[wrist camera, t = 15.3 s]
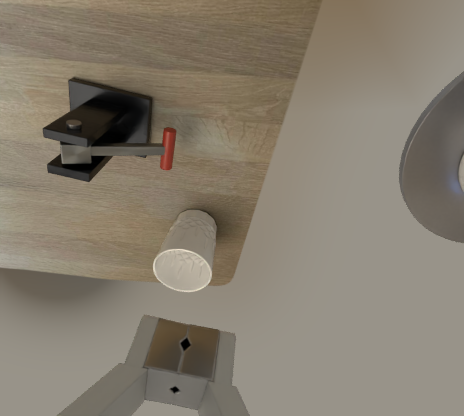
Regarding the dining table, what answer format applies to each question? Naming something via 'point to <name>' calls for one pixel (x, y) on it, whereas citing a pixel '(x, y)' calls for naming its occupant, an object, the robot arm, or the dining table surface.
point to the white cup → (187, 252)
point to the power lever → (121, 150)
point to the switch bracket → (98, 124)
